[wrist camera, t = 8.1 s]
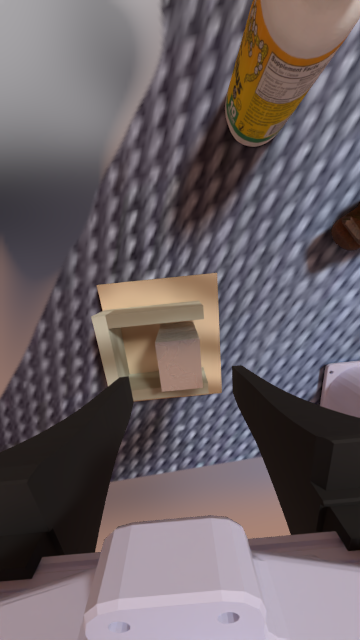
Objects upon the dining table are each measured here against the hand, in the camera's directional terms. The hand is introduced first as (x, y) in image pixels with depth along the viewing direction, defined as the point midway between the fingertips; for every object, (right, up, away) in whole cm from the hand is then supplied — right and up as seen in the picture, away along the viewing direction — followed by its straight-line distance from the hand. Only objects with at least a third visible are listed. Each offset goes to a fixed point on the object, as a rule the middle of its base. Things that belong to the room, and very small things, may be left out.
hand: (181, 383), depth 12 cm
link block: (0, +2, +7) cm, 7 cm away
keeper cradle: (-2, +2, +8) cm, 8 cm away
